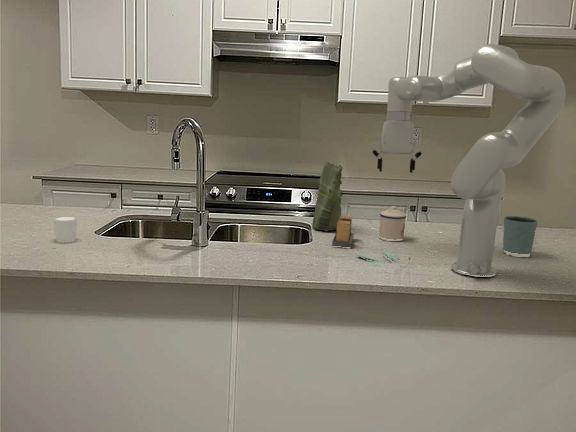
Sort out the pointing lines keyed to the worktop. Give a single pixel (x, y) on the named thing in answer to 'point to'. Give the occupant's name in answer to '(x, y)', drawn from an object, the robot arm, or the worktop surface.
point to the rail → (343, 244)
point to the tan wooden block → (343, 231)
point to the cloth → (391, 256)
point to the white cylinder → (65, 229)
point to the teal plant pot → (519, 234)
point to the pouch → (328, 198)
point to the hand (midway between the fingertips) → (395, 171)
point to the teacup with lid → (392, 224)
